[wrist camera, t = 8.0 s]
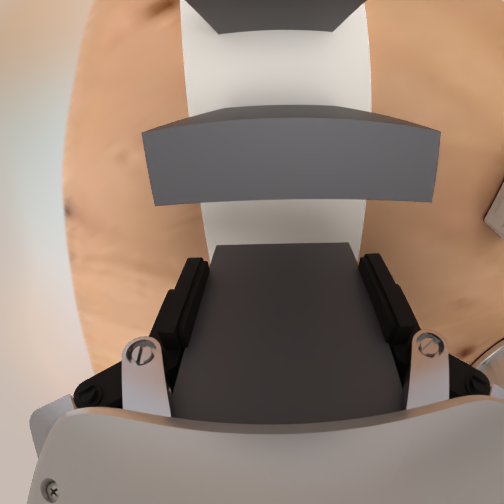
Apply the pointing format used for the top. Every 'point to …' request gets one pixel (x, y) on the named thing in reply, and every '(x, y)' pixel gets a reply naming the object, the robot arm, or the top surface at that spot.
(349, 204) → the board
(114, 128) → the top surface
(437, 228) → the top surface
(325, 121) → the domino
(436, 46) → the top surface
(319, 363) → the domino
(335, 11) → the domino
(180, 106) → the top surface
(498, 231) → the skincare box
